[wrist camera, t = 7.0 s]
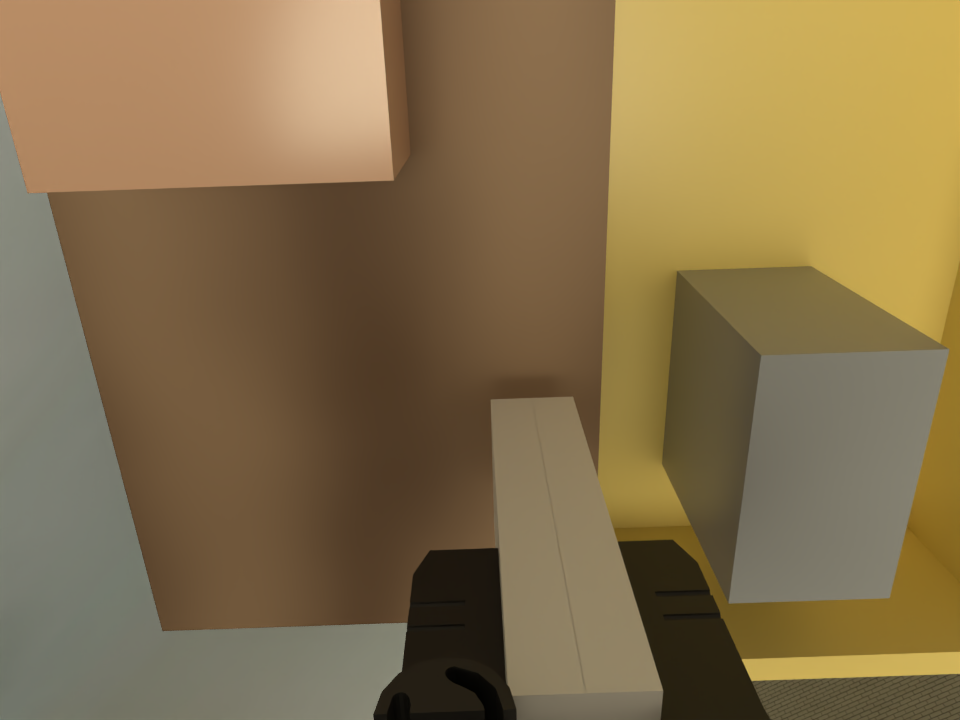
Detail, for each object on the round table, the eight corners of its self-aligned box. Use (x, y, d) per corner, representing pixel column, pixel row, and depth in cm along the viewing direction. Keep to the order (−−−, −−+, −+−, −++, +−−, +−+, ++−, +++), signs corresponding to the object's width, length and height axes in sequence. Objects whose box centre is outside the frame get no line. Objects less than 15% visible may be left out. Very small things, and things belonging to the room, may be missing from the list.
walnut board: (206, 549, 19) (162, 631, 17) (19, -301, 12) (-110, -404, 10) (575, 536, 19) (592, 616, 17) (595, -321, 12) (631, -431, 10)
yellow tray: (578, 536, 19) (612, 685, 15) (601, -321, 12) (679, -548, 8) (906, 525, 19) (1043, 670, 15) (1113, -338, 12) (1498, -577, 8)
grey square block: (728, 603, 13) (889, 598, 13) (761, 355, 11) (949, 348, 11) (661, 463, 18) (781, 459, 18) (676, 270, 16) (810, 265, 16)
